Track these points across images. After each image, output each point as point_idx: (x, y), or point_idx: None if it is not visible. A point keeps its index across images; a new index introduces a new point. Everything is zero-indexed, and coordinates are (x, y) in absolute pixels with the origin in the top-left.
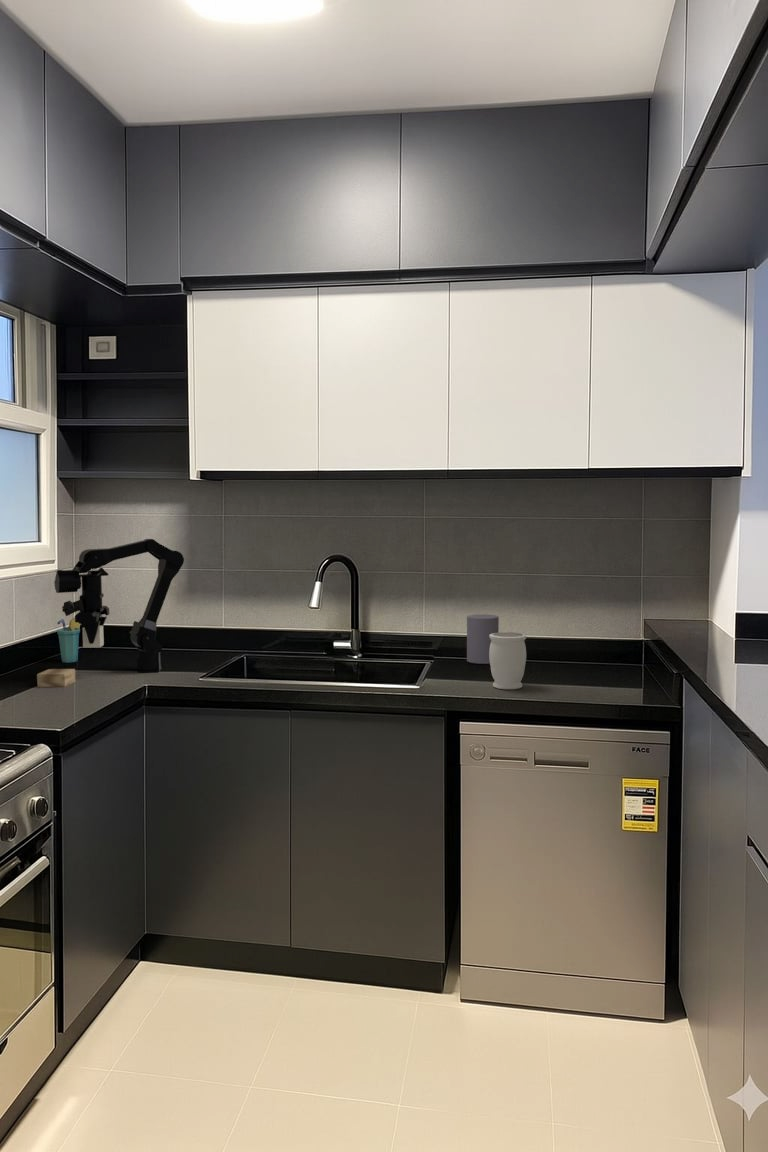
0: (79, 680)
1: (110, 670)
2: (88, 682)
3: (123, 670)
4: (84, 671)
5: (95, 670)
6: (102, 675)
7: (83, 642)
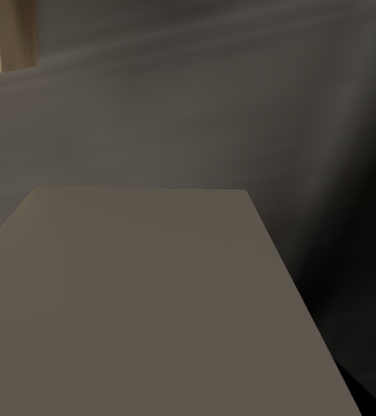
0: (64, 86)
1: (330, 202)
2: (7, 153)
3: (306, 258)
4: (359, 56)
5: (364, 122)
6: (199, 188)
7: (7, 227)
